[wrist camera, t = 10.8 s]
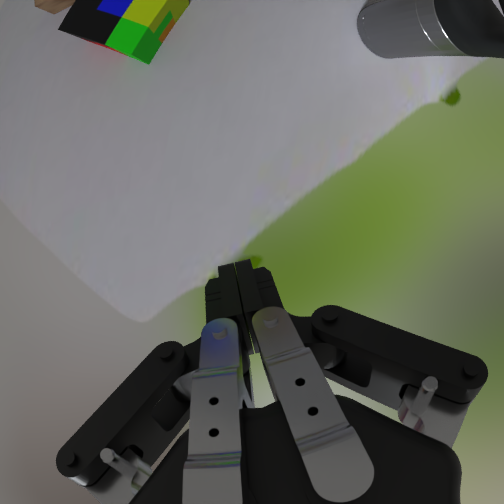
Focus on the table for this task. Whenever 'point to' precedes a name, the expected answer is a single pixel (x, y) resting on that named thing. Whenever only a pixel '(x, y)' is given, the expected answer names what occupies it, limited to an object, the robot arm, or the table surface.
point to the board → (53, 5)
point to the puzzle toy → (124, 24)
